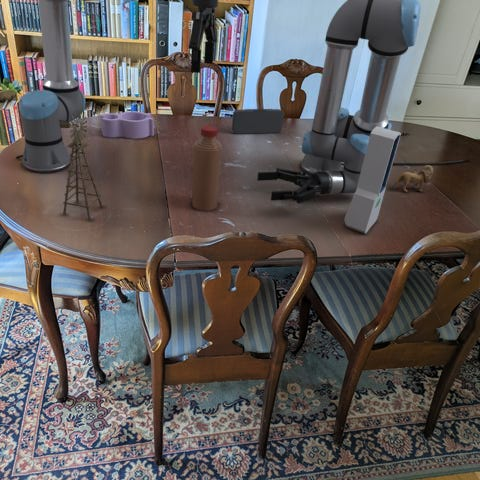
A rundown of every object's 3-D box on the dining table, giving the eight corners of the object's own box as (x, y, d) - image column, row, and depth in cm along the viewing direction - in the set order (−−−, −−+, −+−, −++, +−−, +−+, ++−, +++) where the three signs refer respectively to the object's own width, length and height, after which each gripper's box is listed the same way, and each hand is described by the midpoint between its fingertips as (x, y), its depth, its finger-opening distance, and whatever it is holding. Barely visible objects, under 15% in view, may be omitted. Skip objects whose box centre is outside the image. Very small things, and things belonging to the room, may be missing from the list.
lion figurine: (421, 184, 174) (428, 162, 169) (430, 191, 169) (438, 168, 165) (388, 187, 169) (395, 164, 164) (397, 194, 165) (404, 171, 160)
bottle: (202, 213, 141) (206, 136, 128) (186, 202, 146) (189, 127, 133) (222, 206, 146) (228, 131, 133) (206, 196, 151) (211, 122, 137)
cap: (207, 138, 131) (207, 131, 130) (197, 133, 133) (198, 126, 132) (219, 135, 134) (220, 129, 133) (209, 130, 136) (210, 124, 135)
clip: (103, 139, 182) (102, 122, 178) (101, 128, 192) (100, 111, 188) (155, 138, 188) (155, 121, 184) (150, 127, 198) (149, 111, 194)
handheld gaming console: (279, 130, 209) (282, 108, 204) (281, 132, 207) (285, 110, 202) (230, 131, 202) (232, 109, 197) (232, 134, 200) (234, 111, 195)
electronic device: (365, 235, 139) (392, 139, 122) (341, 227, 142) (364, 132, 125) (378, 219, 148) (404, 128, 131) (355, 211, 151) (379, 121, 134)
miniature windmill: (89, 220, 131) (79, 116, 115) (61, 215, 132) (47, 111, 116) (103, 206, 139) (96, 106, 123) (77, 201, 140) (66, 101, 124)
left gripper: (205, -4, 123) (201, 78, 135) (229, -11, 144) (224, 61, 156) (178, -8, 125) (177, 74, 136) (205, -13, 145) (202, 58, 157)
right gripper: (340, 211, 145) (276, 216, 139) (308, 176, 164) (251, 179, 159) (345, 190, 141) (279, 193, 135) (312, 157, 160) (254, 158, 154)
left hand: (202, 67), depth 146 cm, fingers open, 13 cm apart
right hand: (264, 185), depth 147 cm, fingers open, 13 cm apart
